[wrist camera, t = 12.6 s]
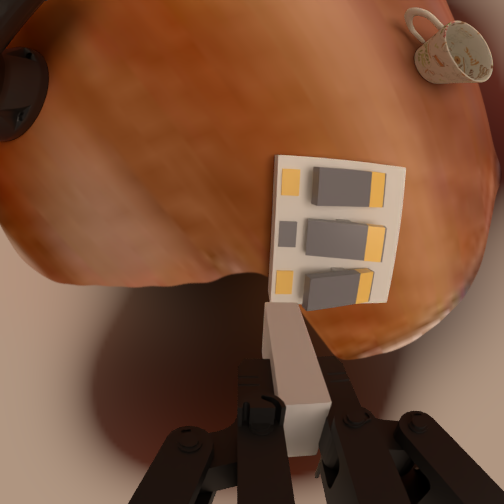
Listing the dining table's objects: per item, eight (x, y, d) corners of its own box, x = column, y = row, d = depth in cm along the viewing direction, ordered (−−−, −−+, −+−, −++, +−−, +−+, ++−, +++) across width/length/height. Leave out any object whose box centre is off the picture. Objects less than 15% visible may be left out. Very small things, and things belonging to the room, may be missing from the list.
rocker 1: (311, 203, 33) (317, 206, 31) (313, 166, 32) (319, 167, 30) (376, 205, 35) (383, 207, 34) (379, 172, 34) (386, 173, 33)
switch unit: (268, 290, 43) (271, 307, 38) (274, 155, 37) (279, 154, 33) (375, 290, 43) (389, 305, 39) (392, 166, 38) (409, 168, 33)
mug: (435, 102, 35) (477, 94, 26) (375, 36, 32) (408, 11, 23) (459, 72, 33) (500, 61, 24) (404, 10, 31) (437, -15, 21)
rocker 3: (301, 306, 36) (307, 311, 35) (305, 274, 35) (310, 278, 34) (363, 296, 39) (369, 301, 38) (368, 267, 38) (374, 271, 36)
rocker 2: (305, 251, 37) (305, 255, 35) (308, 218, 35) (308, 220, 34) (379, 258, 35) (382, 262, 34) (384, 225, 34) (387, 228, 33)
